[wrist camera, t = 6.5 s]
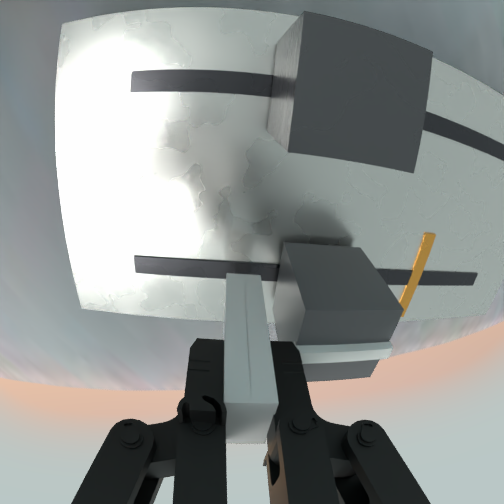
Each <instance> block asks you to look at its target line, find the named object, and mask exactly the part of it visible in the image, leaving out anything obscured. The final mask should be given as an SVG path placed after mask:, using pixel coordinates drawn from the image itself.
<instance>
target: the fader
mask: <svg viewBox="0 0 504 504" xmlns="http://www.w3.org/2000/svg"><path fill="white" fill-rule="evenodd" d="M272 309H273V315H274V321H275V326H276V332H277V337H278V341H292V342H293V343H294V345H295V346H296V347H297V349H298V350H299V351H300V355H301V360H302V364H303V368H304V374H305V377H306V381H307V382H312V381H330V380H343V379H354V378H365V377H370V376H371V374H372V372H373V371H374V369H375V367H376V365H377V363H378V361H379V360H380V359H386V358H388V357H389V355H390V354H391V352H392V350H393V347H392V345H391V343H390V341H389V340H390V338H391V336H392V334H393V332H394V330H395V328H396V326H397V324H398V322H399V320H400V317H401V315H402V313H403V311H404V309H403V307H402V306H401V304H400V303H399V301H398V300H397V298H396V297H395V295H394V294H393V292H392V291H391V289H390V288H389V287H388V285H387V284H386V282H385V281H384V279H383V278H382V277H381V275H380V274H379V272H378V271H377V270H376V268H375V267H374V265H373V264H372V263H371V261H370V260H369V258H368V257H367V256H366V254H365V253H364V252H363V250H362V249H361V248H360V247H346V246H332V245H318V244H303V243H288V242H284V244H283V250H282V256H281V262H280V268H279V274H278V280H277V285H276V291H275V297H274V302H273V308H272Z"/></svg>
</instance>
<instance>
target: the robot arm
mask: <svg viewBox="0 0 504 504" xmlns="http://www.w3.org/2000/svg"><path fill="white" fill-rule="evenodd" d="M177 412H178V415H177V416H176V417H175V418H173V419H172V420H170V421H167V422H163V423H158V424H151V425H147V424H145V423H144V422H142V421H140V420H136V419H125V420H122V421H120V422H118V423H116V424H115V425H114V426H113V427H112V429H111V430H110V432H109V434H108V435H107V437H106V439H105V441H104V443H103V445H102V446H101V448H100V450H99V452H98V454H97V456H96V458H95V459H94V461H93V463H92V465H91V467H90V469H89V471H88V473H87V474H86V476H85V478H84V480H83V482H82V484H81V486H80V488H79V490H78V492H77V494H76V496H75V498H74V499H73V502H72V503H71V504H153V503H154V500H155V498H156V495H157V493H158V491H159V488H160V486H161V483H162V480H163V478H164V477H170V476H175V477H174V493H173V504H227V478H226V443H236V444H238V443H239V444H260V443H261V444H262V443H265V442H266V440H267V444H268V451H267V454H266V456H265V459H264V463H263V466H266V465H267V473H268V485H269V495H270V504H430V502H429V500H428V499H427V497H426V495H425V494H424V492H423V491H422V489H421V487H420V486H419V484H418V483H417V481H416V479H415V478H414V476H413V475H412V473H411V472H410V470H409V468H408V467H407V465H406V464H405V462H404V461H403V459H402V457H401V456H400V454H399V453H398V451H397V450H396V448H395V446H394V445H393V443H392V442H391V440H390V439H389V437H388V436H387V434H386V432H385V431H384V429H383V428H382V427H381V426H380V425H379V424H377V423H375V422H373V421H370V420H361V421H357V422H355V423H354V424H352V425H351V426H345V425H339V424H334V423H330V422H327V421H325V420H323V419H322V418H320V417H319V416H318V415H317V414H316V412H315V411H314V410H313V407H312V404H311V399H310V395H309V391H308V386H307V381H306V377H305V374H304V368H303V364H302V360H301V355H300V351H299V350H298V349H297V347H296V346H295V345H294V343H293V342H292V341H270V337H269V330H268V323H267V316H266V309H265V302H264V295H263V288H262V281H261V275H250V274H233V273H227V274H226V288H225V302H224V317H223V340H215V339H200V338H197V339H196V341H195V342H194V343H193V345H192V346H191V348H190V354H189V362H188V371H187V378H186V387H185V397H184V398H183V399H181V401H180V402H179V405H178V407H177Z"/></svg>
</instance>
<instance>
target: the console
mask: <svg viewBox="0 0 504 504" xmlns="http://www.w3.org/2000/svg"><path fill="white" fill-rule="evenodd" d="M432 54H433V52H432V51H430V50H428V49H425V48H423V47H421V46H418V45H416V44H414V43H411V42H409V41H406V40H404V39H401V38H398V37H396V36H393V35H390V34H387V33H385V32H382V31H379V30H376V29H373V28H369V27H366V26H363V25H360V24H356V23H353V22H349V21H345V20H342V19H338V18H334V17H329V16H325V15H321V14H316V13H311V12H306V11H304V12H303V13H302V14H301V15H300V16H294V15H288V14H282V13H274V12H267V11H258V10H248V9H235V8H214V7H179V8H158V9H146V10H136V11H127V12H120V13H113V14H106V15H101V16H95V17H90V18H85V19H80V20H76V21H71V22H67V23H63V24H62V28H61V35H60V43H59V52H58V62H57V75H56V94H55V141H56V161H57V174H58V185H59V194H60V203H61V210H62V217H63V224H64V230H65V236H66V242H67V247H68V252H69V257H70V262H71V267H72V271H73V276H74V280H75V284H76V288H77V292H78V296H79V300H80V304H81V308H82V309H89V310H97V311H105V312H114V313H123V314H132V315H142V316H153V317H165V318H177V319H191V320H207V321H223V317H224V302H225V288H226V274H227V273H233V274H250V275H261V281H262V288H263V295H264V302H265V309H266V316H267V323H275V321H274V315H273V309H272V308H273V302H274V297H275V291H276V285H277V280H278V274H279V268H280V262H281V256H282V250H283V244H284V242H288V243H303V244H318V245H332V246H346V247H360V248H361V249H362V250H363V252H364V253H365V254H366V256H367V257H368V258H369V260H370V261H371V263H372V264H373V265H374V267H375V268H376V270H377V271H378V272H379V274H380V275H381V277H382V278H383V279H384V281H385V282H386V284H387V285H388V287H389V288H390V289H391V291H392V292H393V294H394V295H395V297H396V298H397V300H398V301H399V303H400V304H401V306H402V307H403V309H404V311H403V313H402V315H401V317H400V320H399V322H400V321H417V320H432V319H445V318H457V317H467V316H477V315H485V314H486V313H487V311H488V309H489V307H490V305H491V303H492V301H493V299H494V297H495V295H496V293H497V291H498V289H499V287H500V285H501V283H502V281H503V279H504V96H503V95H502V94H500V93H498V92H497V91H495V90H494V89H492V88H490V87H489V86H487V85H485V84H484V83H482V82H480V81H478V80H477V79H475V78H473V77H471V76H469V75H467V74H466V73H464V72H462V71H460V70H458V69H456V68H454V67H452V66H450V65H448V64H446V63H444V62H442V61H439V60H437V59H435V58H433V57H432Z"/></svg>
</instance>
